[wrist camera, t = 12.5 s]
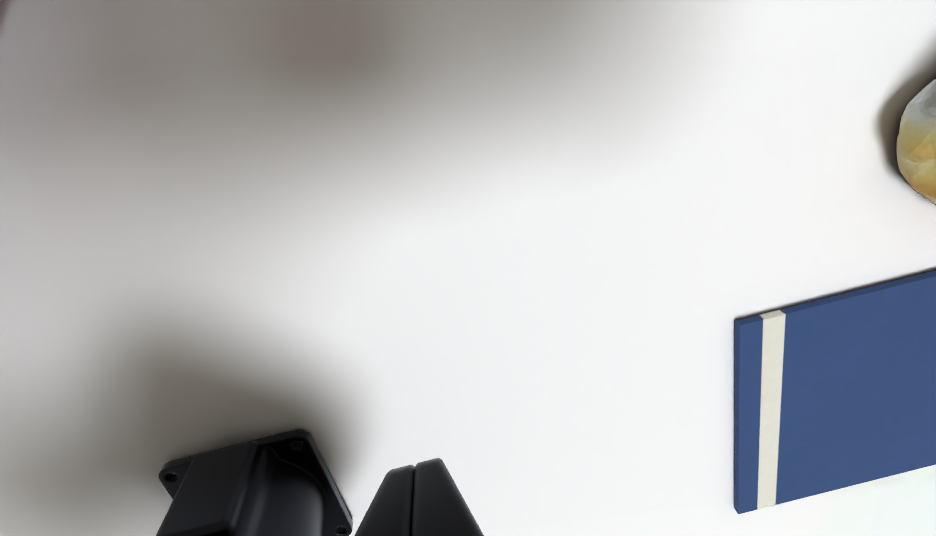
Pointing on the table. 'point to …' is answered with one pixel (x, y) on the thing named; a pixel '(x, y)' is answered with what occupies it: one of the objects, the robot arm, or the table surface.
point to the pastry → (919, 142)
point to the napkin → (835, 392)
